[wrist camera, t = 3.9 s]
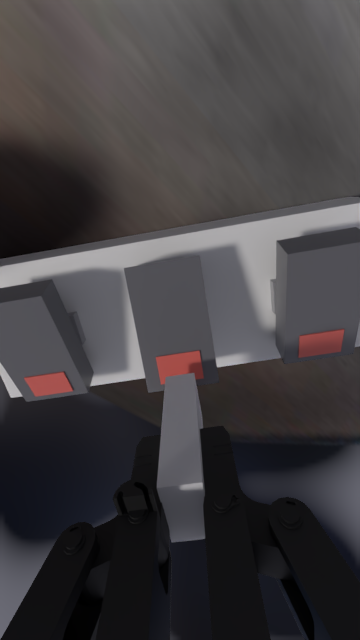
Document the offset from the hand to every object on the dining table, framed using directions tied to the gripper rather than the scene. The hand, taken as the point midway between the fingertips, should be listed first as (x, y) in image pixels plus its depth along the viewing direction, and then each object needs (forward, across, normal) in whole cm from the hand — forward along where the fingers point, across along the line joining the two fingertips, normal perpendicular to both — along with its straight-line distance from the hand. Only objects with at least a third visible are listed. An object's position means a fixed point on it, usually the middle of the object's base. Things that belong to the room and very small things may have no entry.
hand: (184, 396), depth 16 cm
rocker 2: (+3, 0, +3) cm, 4 cm away
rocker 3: (+3, +8, +3) cm, 9 cm away
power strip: (+9, -4, +3) cm, 10 cm away
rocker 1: (+3, -8, +3) cm, 9 cm away
